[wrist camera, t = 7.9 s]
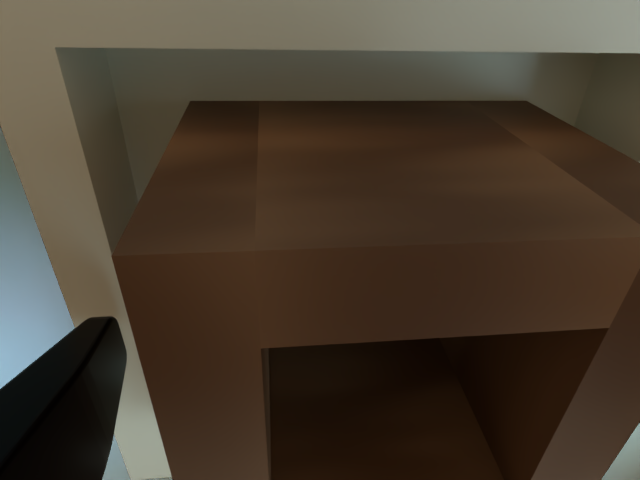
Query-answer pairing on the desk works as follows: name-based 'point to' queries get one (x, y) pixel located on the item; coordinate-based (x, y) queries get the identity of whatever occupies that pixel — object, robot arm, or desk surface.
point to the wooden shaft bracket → (386, 292)
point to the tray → (263, 85)
